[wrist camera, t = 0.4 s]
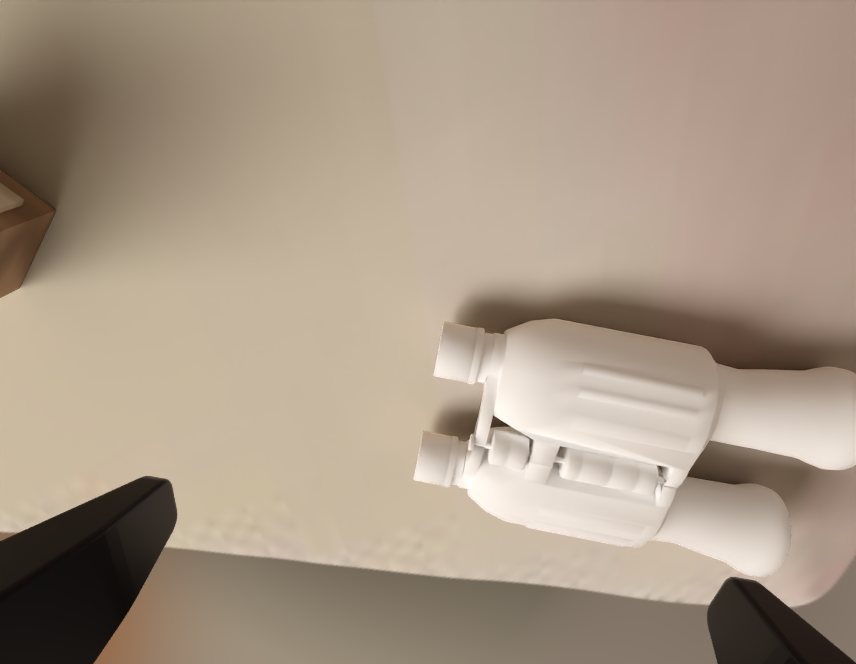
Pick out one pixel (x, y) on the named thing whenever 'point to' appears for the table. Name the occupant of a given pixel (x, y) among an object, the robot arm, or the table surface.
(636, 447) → the binoculars
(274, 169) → the table surface
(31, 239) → the walnut block
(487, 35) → the table surface
